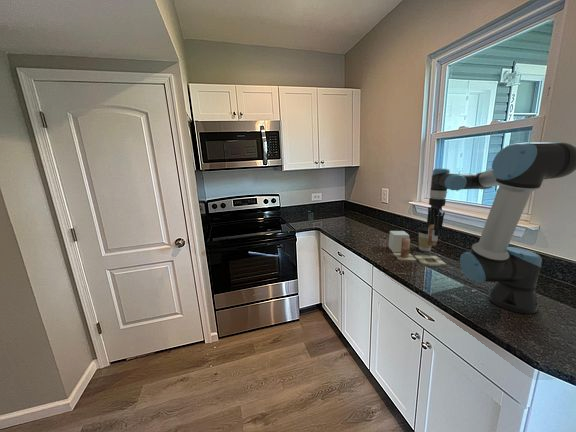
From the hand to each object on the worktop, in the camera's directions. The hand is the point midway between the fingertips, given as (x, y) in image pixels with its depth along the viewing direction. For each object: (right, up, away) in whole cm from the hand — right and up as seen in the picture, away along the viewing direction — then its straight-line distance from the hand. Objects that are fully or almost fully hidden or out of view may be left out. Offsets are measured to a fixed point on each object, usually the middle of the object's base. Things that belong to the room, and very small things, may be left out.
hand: (432, 239), depth 137 cm
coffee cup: (+7, -10, +21) cm, 25 cm away
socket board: (0, -14, +3) cm, 15 cm away
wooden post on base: (-11, -13, +11) cm, 20 cm away
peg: (0, -3, +1) cm, 3 cm away
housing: (-10, -10, +22) cm, 26 cm away
